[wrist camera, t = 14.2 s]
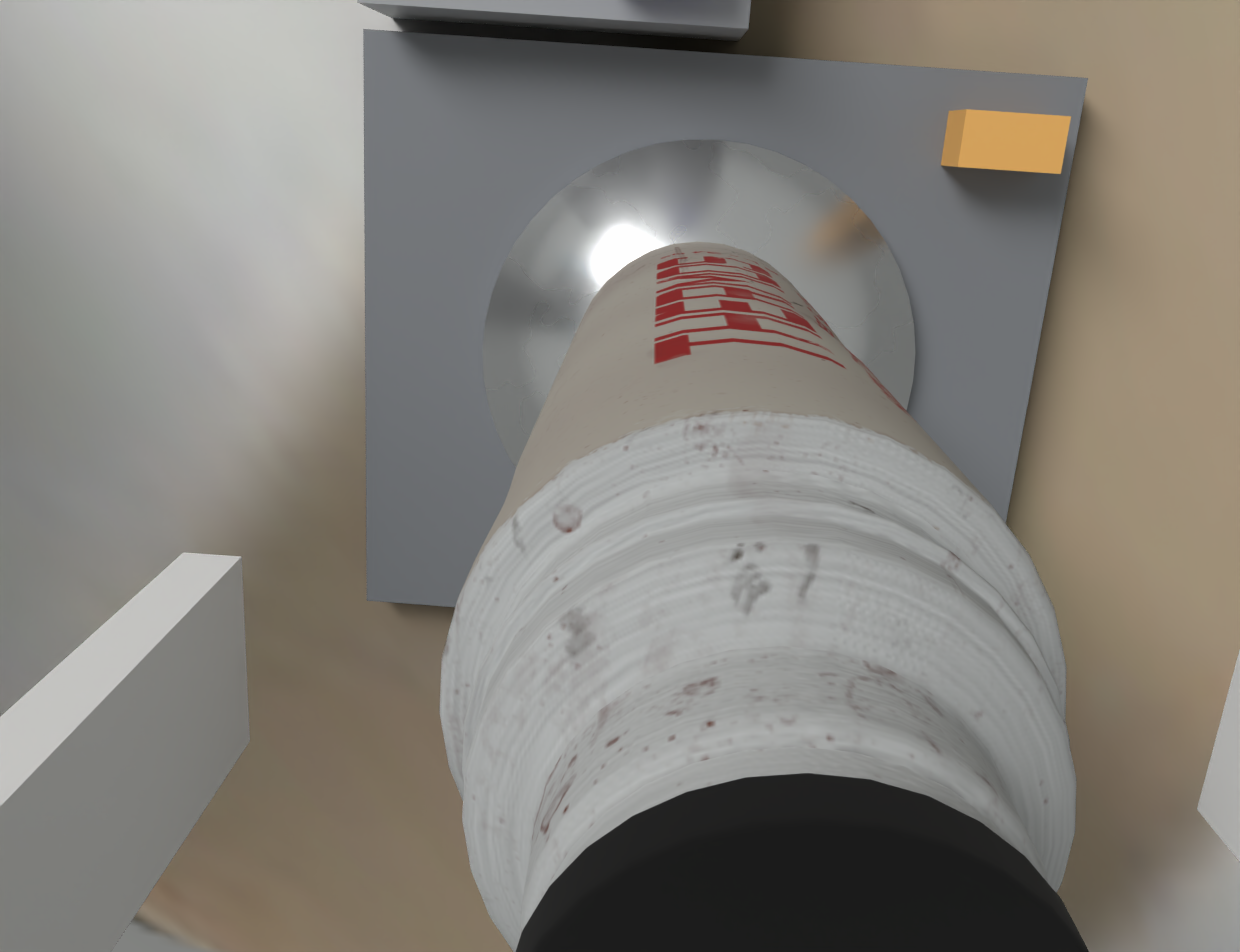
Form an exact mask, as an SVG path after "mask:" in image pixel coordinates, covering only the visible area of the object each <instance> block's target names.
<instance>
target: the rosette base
mask: <svg viewBox="0 0 1240 952" xmlns="http://www.w3.org/2000/svg"><path fill="white" fill-rule="evenodd" d="M1087 80H1088V78H1078V77H1064V76H1049V75H1034V74H1019V73H1004V72H990V71H975V70H960V69H945V68H931V67H916V66H901V65H886V64H871V63H857V62H842V61H827V60H812V59H798V58H783V57H768V56H753V55H738V54H724V53H709V52H694V51H679V50H665V49H650V48H635V47H620V46H605V45H591V44H576V43H561V42H546V41H532V40H517V39H502V38H487V37H472V36H458V35H443V34H428V33H413V32H398V31H384V30H369V29H364V202H365V378H366V553H367V601H380V602H393V603H406V604H419V605H433V606H446V607H456V603H457V600H458V597H459V594H460V592H461V590H462V588H463V585H464V583H465V581H466V579H467V576H468V574H469V572H470V570H471V568H472V565H473V563H474V561H475V559H476V557H477V555H478V553H479V551H480V549H481V547H482V545H483V543H484V541H485V539H486V537H487V535H488V533H489V531H490V530H491V528H492V526H493V524H494V522H495V520H496V518H497V516H498V514H499V512H500V511H501V509H502V507H503V504H504V502H505V500H506V497H507V495H508V492H509V489H510V486H511V483H512V480H513V477H514V473H515V470H516V467H517V465H518V462H519V460H520V457H521V455H522V453H523V450H524V448H525V446H526V444H527V441H528V439H529V437H530V435H531V432H532V430H533V428H534V426H535V423H536V421H537V419H538V417H539V414H540V412H541V410H542V408H543V405H544V403H545V401H546V399H547V396H548V394H549V392H550V390H551V387H552V385H553V383H554V381H555V378H556V376H557V374H558V372H559V369H560V367H561V365H562V363H563V360H564V358H565V356H566V354H567V351H568V349H569V347H570V345H571V342H572V340H573V338H574V336H575V333H576V331H577V329H578V327H579V324H580V322H581V320H582V318H583V316H584V314H585V312H586V310H587V308H588V306H589V304H590V303H591V301H592V299H593V297H594V296H595V295H596V294H597V292H598V291H599V290H600V289H601V287H602V286H603V285H604V284H605V282H606V281H607V280H608V279H609V278H610V277H611V276H613V275H614V274H615V273H616V272H617V271H619V270H620V269H621V268H622V267H623V266H624V265H626V264H627V263H629V262H630V261H632V260H634V259H636V258H638V257H640V256H641V255H643V254H645V253H647V252H649V251H652V250H655V249H658V248H661V247H665V246H668V245H671V244H677V243H686V242H696V241H700V242H710V243H720V244H725V245H728V246H732V247H735V248H738V249H741V250H745V251H747V252H749V253H751V254H753V255H755V256H756V257H758V258H760V259H762V260H764V261H766V262H767V263H769V264H770V265H771V266H772V267H774V268H775V269H776V270H777V271H778V272H780V273H781V274H782V275H783V276H784V277H785V278H787V279H788V280H789V281H790V282H791V284H792V285H793V286H794V287H795V288H796V289H797V290H798V291H799V293H800V294H801V295H802V296H803V297H804V298H805V299H806V300H807V301H808V303H809V304H810V305H811V306H812V307H813V308H814V309H815V310H816V311H817V312H818V314H819V315H820V316H821V317H822V318H823V319H824V320H825V322H826V323H827V324H828V325H829V327H830V328H831V329H832V331H833V332H834V333H835V334H836V336H837V337H838V338H839V340H840V341H841V342H842V343H843V345H844V346H845V348H847V349H848V350H849V351H850V352H851V353H852V354H853V355H855V356H856V357H857V358H858V359H859V360H860V361H862V362H863V364H864V365H865V366H866V367H867V368H868V369H869V370H870V371H871V372H872V373H873V374H874V376H875V377H876V378H877V379H878V380H879V381H880V382H881V383H882V384H883V385H884V387H885V388H886V389H887V390H888V391H889V392H890V393H891V394H892V395H893V397H894V398H895V399H896V400H897V401H898V402H899V403H900V404H901V405H902V407H903V408H904V409H905V410H906V411H907V412H908V413H909V414H910V415H911V416H912V418H913V419H914V420H915V421H916V422H917V423H918V424H919V425H920V426H921V428H922V429H923V430H924V431H925V432H926V433H927V434H928V435H929V436H930V438H931V439H932V440H933V441H934V442H935V443H936V444H937V445H938V446H939V447H940V449H941V450H942V451H943V452H944V453H945V454H946V455H947V456H948V457H949V459H950V460H951V461H952V462H953V463H954V464H955V465H956V466H957V467H958V468H959V470H960V471H961V472H962V473H963V474H964V475H965V476H966V477H967V478H968V480H969V481H970V482H971V483H972V484H973V485H974V486H975V487H976V488H977V490H978V491H979V492H980V493H981V494H982V495H983V496H984V497H985V498H986V499H987V501H988V502H989V503H990V504H991V505H992V507H993V508H994V509H995V511H996V512H997V513H998V514H999V516H1000V517H1001V518H1002V520H1003V521H1004V522H1005V523H1006V519H1007V513H1008V508H1009V502H1010V497H1011V492H1012V486H1013V481H1014V475H1015V470H1016V465H1017V459H1018V454H1019V448H1020V443H1021V437H1022V432H1023V427H1024V421H1025V416H1026V410H1027V405H1028V400H1029V394H1030V389H1031V383H1032V378H1033V373H1034V367H1035V362H1036V356H1037V351H1038V345H1039V340H1040V335H1041V329H1042V324H1043V318H1044V313H1045V308H1046V302H1047V297H1048V291H1049V286H1050V281H1051V275H1052V270H1053V264H1054V259H1055V254H1056V248H1057V243H1058V237H1059V232H1060V226H1061V221H1062V216H1063V210H1064V205H1065V199H1066V194H1067V189H1068V183H1069V178H1070V172H1071V167H1072V162H1073V156H1074V151H1075V145H1076V140H1077V134H1078V129H1079V124H1080V118H1081V113H1082V107H1083V102H1084V97H1085V91H1086V86H1087Z"/></svg>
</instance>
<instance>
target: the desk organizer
mask: <svg viewBox="0 0 1240 952" xmlns="http://www.w3.org/2000/svg"><path fill="white" fill-rule="evenodd" d="M358 3H360V4H362V5H364V6H367V7H369V8H371V9H373V10H375V11H378V12H380V13H382V14H384V15H386V16H389V17H391V18H401V19H416V20H431V21H446V22H461V23H475V24H490V25H505V26H520V27H535V28H550V29H564V30H579V31H594V32H609V33H624V34H638V35H653V36H668V37H683V38H698V39H713V40H727V41H739V40H740V39H741V38H742V36H743V35H744V34H745V32H746V31H747V30H748V28H749V17H750V6H751V0H358Z"/></svg>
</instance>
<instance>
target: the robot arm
mask: <svg viewBox="0 0 1240 952" xmlns="http://www.w3.org/2000/svg"><path fill="white" fill-rule="evenodd" d="M249 742H250V732H249V710H248V688H247V666H246V644H245V622H244V600H243V577H242V557H240V556H226V555H212V554H198V553H184V552H183V553H182V554H181V555H180V556H179V557H178V558H177V559H175V560H174V561H173V562H172V563H171V564H170V565H169V566H168V567H167V568H165V569H164V570H163V571H162V572H161V573H160V574H159V575H158V576H156V577H155V578H154V579H153V580H152V581H151V582H150V583H149V584H148V585H146V586H145V587H144V588H143V589H142V590H141V591H140V592H139V593H138V594H136V595H135V596H134V597H133V598H132V599H131V600H130V601H129V602H128V603H126V604H125V605H124V606H123V607H122V608H121V609H120V610H119V611H117V612H116V613H115V614H114V615H113V616H112V617H111V618H110V619H109V620H107V621H106V622H105V623H104V624H103V625H102V626H101V627H100V628H99V629H97V630H96V631H95V632H94V633H93V634H92V635H91V636H90V637H89V638H87V639H86V640H85V641H84V642H83V643H82V644H81V645H80V646H78V647H77V648H76V649H75V650H74V651H73V652H72V653H71V654H70V655H68V656H67V657H66V658H65V659H64V660H63V661H62V662H61V663H60V664H58V665H57V666H56V667H55V668H54V669H53V670H52V671H51V672H50V673H48V674H47V675H46V676H45V677H44V678H43V679H42V680H41V681H39V682H38V683H37V684H36V685H35V686H34V687H33V688H32V689H31V690H29V691H28V692H27V693H26V694H25V695H24V696H23V697H22V698H21V699H19V700H18V701H17V702H16V703H15V704H14V705H13V706H12V707H11V708H9V709H8V710H7V711H6V712H5V713H4V714H3V715H2V716H0V952H111V951H112V950H113V948H114V946H115V945H116V944H117V942H118V940H119V939H120V937H121V936H122V934H123V933H124V931H125V930H126V928H127V927H128V925H129V924H130V922H131V921H132V919H133V918H134V916H135V915H136V913H137V912H138V910H139V909H140V907H141V906H142V904H143V903H144V901H145V900H146V898H147V896H148V895H149V893H150V892H151V890H152V889H153V887H154V886H155V884H156V883H157V881H158V880H159V878H160V877H161V875H162V874H163V872H164V871H165V869H166V868H167V866H168V865H169V863H170V862H171V860H172V859H173V857H174V855H175V854H176V852H177V851H178V849H179V848H180V846H181V845H182V843H183V842H184V840H185V839H186V837H187V836H188V834H189V833H190V831H191V830H192V828H193V827H194V825H195V824H196V822H197V821H198V819H199V818H200V816H201V814H202V813H203V811H204V810H205V808H206V807H207V805H208V804H209V802H210V801H211V799H212V798H213V796H214V795H215V793H216V792H217V790H218V789H219V787H220V786H221V784H222V783H223V781H224V780H225V778H226V777H227V775H228V773H229V772H230V770H231V769H232V767H233V766H234V764H235V763H236V761H237V760H238V758H239V757H240V755H241V754H242V752H243V751H244V749H245V748H246V746H247V745H248V743H249ZM1197 810H1198V811H1199V812H1200V814H1201V815H1202V816H1203V817H1204V819H1205V820H1206V821H1207V822H1208V823H1209V825H1210V826H1211V827H1212V828H1213V830H1214V831H1215V832H1216V833H1217V835H1218V836H1219V837H1220V838H1221V840H1222V841H1223V842H1224V843H1225V844H1226V846H1227V847H1228V848H1229V849H1230V851H1231V852H1232V853H1233V854H1234V856H1235V857H1236V858H1237V859H1238V860H1239V862H1240V651H1239V654H1238V658H1237V662H1236V665H1235V669H1234V673H1233V677H1232V680H1231V684H1230V688H1229V692H1228V695H1227V699H1226V703H1225V707H1224V710H1223V714H1222V718H1221V722H1220V725H1219V729H1218V733H1217V736H1216V740H1215V744H1214V748H1213V751H1212V755H1211V759H1210V763H1209V766H1208V770H1207V774H1206V778H1205V781H1204V785H1203V789H1202V792H1201V796H1200V800H1199V804H1198V807H1197Z"/></svg>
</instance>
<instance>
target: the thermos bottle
mask: <svg viewBox="0 0 1240 952" xmlns="http://www.w3.org/2000/svg"><path fill="white" fill-rule="evenodd" d="M439 711H440V718H441V724H442V729H443V735H444V741H445V747H446V752H447V758H448V764H449V768H450V770H451V773H452V775H453V778H454V780H455V783H456V785H457V788H458V790H459V792H460V795H461V797H462V800H463V814H462V821H463V827H464V832H465V838H466V844H467V850H468V856H469V862H470V867H471V872H472V874H473V877H474V879H475V881H476V884H477V886H478V889H479V891H480V894H481V896H482V898H483V901H484V903H485V906H486V908H487V911H488V913H489V916H490V918H491V919H492V921H493V922H494V924H495V925H496V926H497V928H498V929H499V931H500V932H501V934H502V935H503V937H504V938H505V940H506V941H507V943H508V944H509V946H510V947H511V949H512V950H513V951H514V952H1089V951H1088V949H1087V947H1086V945H1085V943H1084V941H1083V939H1082V937H1081V936H1080V934H1079V932H1078V930H1077V928H1076V926H1075V924H1074V922H1073V920H1072V918H1071V917H1070V915H1069V913H1068V911H1067V909H1066V907H1065V905H1064V903H1063V902H1062V900H1061V898H1060V897H1059V896H1058V895H1057V891H1058V889H1059V887H1060V885H1061V883H1062V880H1063V876H1064V872H1065V868H1066V865H1067V861H1068V857H1069V853H1070V849H1071V845H1072V841H1073V838H1074V834H1075V815H1076V775H1075V770H1074V765H1073V761H1072V756H1071V751H1070V747H1069V746H1070V740H1069V735H1068V731H1067V726H1066V722H1065V712H1066V662H1065V658H1064V653H1063V648H1062V643H1061V638H1060V634H1059V629H1058V624H1057V619H1056V615H1055V610H1054V607H1053V605H1052V602H1051V600H1050V598H1049V596H1048V594H1047V592H1046V590H1045V587H1044V585H1043V583H1042V581H1041V579H1040V577H1039V574H1038V572H1037V570H1036V568H1035V566H1034V564H1033V561H1032V559H1031V557H1030V555H1029V554H1028V552H1027V551H1026V549H1025V548H1024V547H1023V546H1022V544H1021V543H1020V542H1019V540H1018V539H1017V538H1016V536H1015V535H1014V534H1013V533H1012V531H1011V530H1010V529H1009V527H1008V526H1007V525H1006V523H1005V522H1004V521H1003V520H1002V518H1001V517H1000V516H999V514H998V513H997V512H996V511H995V509H994V508H993V507H992V505H991V504H990V503H989V502H988V501H987V499H986V498H985V497H984V496H983V495H982V494H981V493H980V492H979V491H978V490H977V488H976V487H975V486H974V485H973V484H972V483H971V482H970V481H969V480H968V478H967V477H966V476H965V475H964V474H963V473H962V472H961V471H960V470H959V468H958V467H957V466H956V465H955V464H954V463H953V462H952V461H951V460H950V459H949V457H948V456H947V455H946V454H945V453H944V452H943V451H942V450H941V449H940V447H939V446H938V445H937V444H936V443H935V442H934V441H933V440H932V439H931V438H930V436H929V435H928V434H927V433H926V432H925V431H924V430H923V429H922V428H921V426H920V425H919V424H918V423H917V422H916V421H915V420H914V419H913V418H912V416H911V415H910V414H909V413H908V412H907V411H906V410H905V409H904V408H903V407H902V405H901V404H900V403H899V402H898V401H897V400H896V399H895V398H894V397H893V395H892V394H891V393H890V392H889V391H888V390H887V389H886V388H885V387H884V385H883V384H882V383H881V382H880V381H879V380H878V379H877V378H876V377H875V376H874V374H873V373H872V372H871V371H870V370H869V369H868V368H867V367H866V366H865V365H864V364H863V362H862V361H860V360H859V359H858V358H857V357H856V356H855V355H853V354H852V353H851V352H850V351H849V350H848V349H847V348H845V346H844V345H843V343H842V342H841V341H840V340H839V338H838V337H837V336H836V334H835V333H834V332H833V331H832V329H831V328H830V327H829V325H828V324H827V323H826V322H825V320H824V319H823V318H822V317H821V316H820V315H819V314H818V312H817V311H816V310H815V309H814V308H813V307H812V306H811V305H810V304H809V303H808V301H807V300H806V299H805V298H804V297H803V296H802V295H801V294H800V293H799V291H798V290H797V289H796V288H795V287H794V286H793V285H792V284H791V282H790V281H789V280H788V279H787V278H785V277H784V276H783V275H782V274H781V273H780V272H778V271H777V270H776V269H775V268H774V267H772V266H771V265H770V264H769V263H767V262H766V261H764V260H762V259H760V258H758V257H756V256H755V255H753V254H751V253H749V252H747V251H745V250H741V249H738V248H735V247H732V246H728V245H725V244H720V243H710V242H700V241H696V242H686V243H677V244H671V245H668V246H665V247H661V248H658V249H655V250H652V251H649V252H647V253H645V254H643V255H641V256H640V257H638V258H636V259H634V260H632V261H630V262H629V263H627V264H626V265H624V266H623V267H622V268H621V269H620V270H619V271H617V272H616V273H615V274H614V275H613V276H611V277H610V278H609V279H608V280H607V281H606V282H605V284H604V285H603V286H602V287H601V289H600V290H599V291H598V292H597V294H596V295H595V296H594V297H593V299H592V301H591V303H590V304H589V306H588V308H587V310H586V312H585V314H584V316H583V318H582V320H581V322H580V324H579V327H578V329H577V331H576V333H575V336H574V338H573V340H572V342H571V345H570V347H569V349H568V351H567V354H566V356H565V358H564V360H563V363H562V365H561V367H560V369H559V372H558V374H557V376H556V378H555V381H554V383H553V385H552V387H551V390H550V392H549V394H548V396H547V399H546V401H545V403H544V405H543V408H542V410H541V412H540V414H539V417H538V419H537V421H536V423H535V426H534V428H533V430H532V432H531V435H530V437H529V439H528V441H527V444H526V446H525V448H524V450H523V453H522V455H521V457H520V460H519V462H518V465H517V467H516V470H515V473H514V477H513V480H512V483H511V486H510V489H509V492H508V495H507V497H506V500H505V502H504V504H503V507H502V509H501V511H500V512H499V514H498V516H497V518H496V520H495V522H494V524H493V526H492V528H491V530H490V531H489V533H488V535H487V537H486V539H485V541H484V543H483V545H482V547H481V549H480V551H479V553H478V555H477V557H476V559H475V561H474V563H473V565H472V568H471V570H470V572H469V574H468V576H467V579H466V581H465V583H464V585H463V588H462V590H461V592H460V594H459V597H458V600H457V603H456V607H455V610H454V614H453V618H452V621H451V625H450V629H449V632H448V636H447V640H446V644H445V647H444V651H443V655H442V668H441V689H440V710H439Z"/></svg>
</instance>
